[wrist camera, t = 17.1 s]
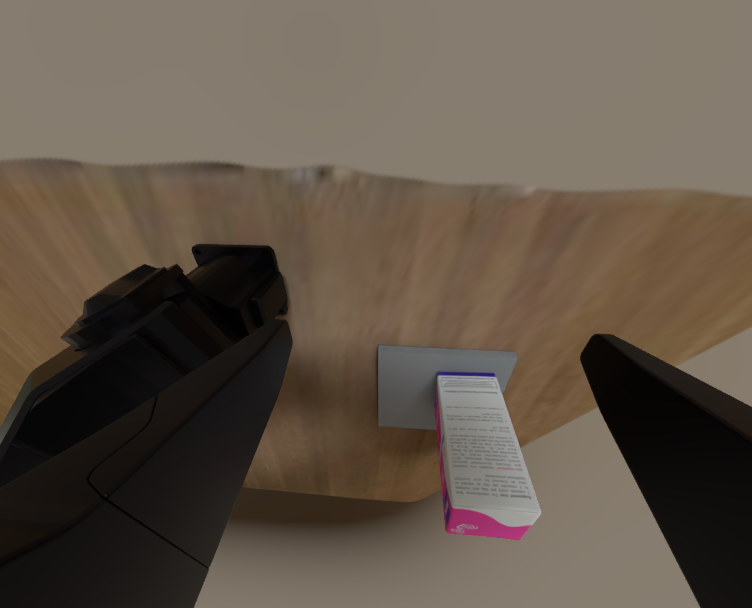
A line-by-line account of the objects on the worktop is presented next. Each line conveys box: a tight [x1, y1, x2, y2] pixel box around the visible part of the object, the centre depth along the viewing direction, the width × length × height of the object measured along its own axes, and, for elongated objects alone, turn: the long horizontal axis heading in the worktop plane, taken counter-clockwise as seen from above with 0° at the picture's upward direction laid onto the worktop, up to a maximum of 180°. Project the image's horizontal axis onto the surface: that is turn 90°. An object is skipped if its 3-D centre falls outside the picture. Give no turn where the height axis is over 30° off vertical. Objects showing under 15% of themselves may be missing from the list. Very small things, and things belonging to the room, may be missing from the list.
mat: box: [378, 345, 518, 430], centre depth 29 cm, size 13×13×1 cm
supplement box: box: [434, 371, 541, 540], centre depth 23 cm, size 6×6×12 cm
